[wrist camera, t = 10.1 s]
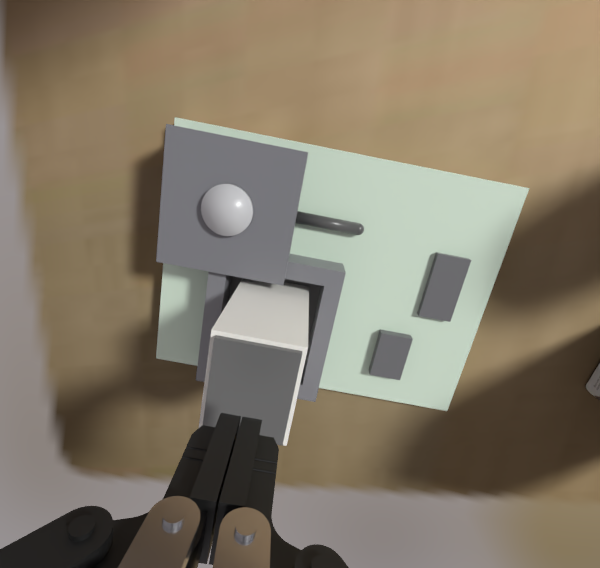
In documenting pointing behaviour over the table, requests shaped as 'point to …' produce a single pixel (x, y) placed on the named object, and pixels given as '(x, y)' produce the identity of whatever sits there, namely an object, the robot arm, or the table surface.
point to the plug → (258, 356)
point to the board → (369, 275)
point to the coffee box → (594, 383)
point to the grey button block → (233, 205)
